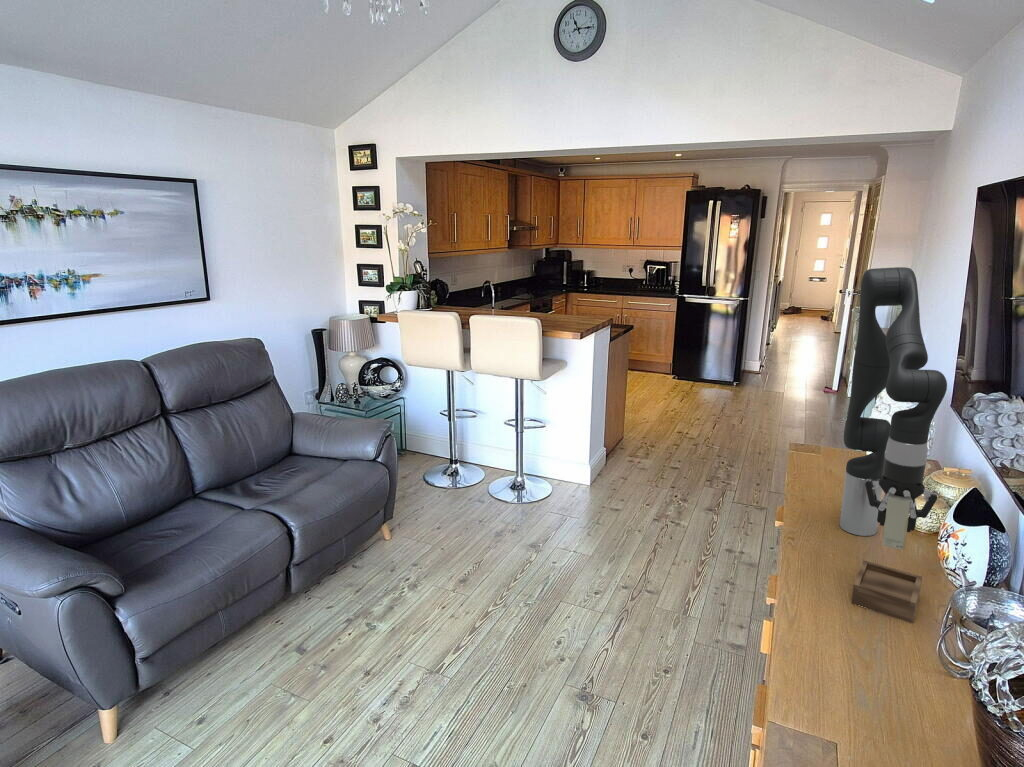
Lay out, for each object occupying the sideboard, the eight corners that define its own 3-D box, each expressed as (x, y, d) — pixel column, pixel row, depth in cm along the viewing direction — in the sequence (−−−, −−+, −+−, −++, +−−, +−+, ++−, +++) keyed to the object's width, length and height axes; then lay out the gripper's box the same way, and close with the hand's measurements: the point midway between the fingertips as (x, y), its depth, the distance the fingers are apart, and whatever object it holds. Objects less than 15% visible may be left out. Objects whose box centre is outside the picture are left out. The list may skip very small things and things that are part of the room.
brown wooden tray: (861, 579, 146) (863, 560, 145) (919, 596, 139) (922, 576, 137) (851, 604, 137) (853, 584, 136) (912, 624, 130) (915, 603, 128)
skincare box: (904, 551, 130) (911, 501, 127) (881, 546, 133) (887, 497, 129) (905, 538, 135) (912, 490, 132) (883, 533, 138) (889, 486, 134)
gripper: (946, 459, 126) (935, 529, 131) (870, 445, 135) (862, 512, 140) (944, 471, 121) (931, 544, 126) (864, 456, 130) (856, 525, 134)
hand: (895, 527), depth 133 cm, fingers closed on skincare box, 4 cm apart
